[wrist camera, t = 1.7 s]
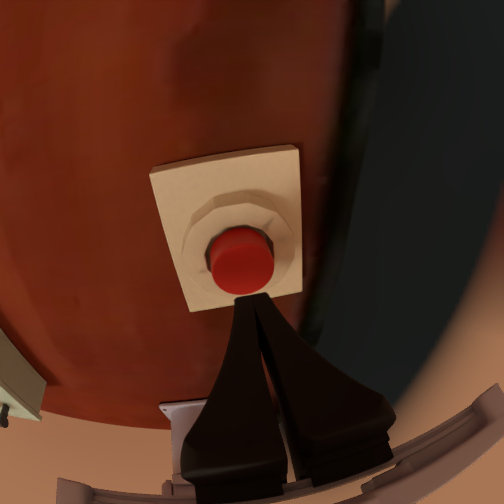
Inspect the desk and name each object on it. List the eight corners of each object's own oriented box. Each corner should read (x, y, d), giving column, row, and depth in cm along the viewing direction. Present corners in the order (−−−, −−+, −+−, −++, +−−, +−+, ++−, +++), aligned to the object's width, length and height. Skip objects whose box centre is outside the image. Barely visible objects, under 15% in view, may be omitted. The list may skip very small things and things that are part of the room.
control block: (296, 279, 21) (309, 307, 19) (190, 299, 20) (190, 329, 18) (291, 143, 16) (309, 156, 13) (152, 166, 15) (142, 184, 12)
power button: (269, 270, 17) (276, 289, 15) (215, 280, 17) (217, 300, 15) (265, 222, 15) (272, 238, 14) (205, 232, 15) (206, 250, 13)
